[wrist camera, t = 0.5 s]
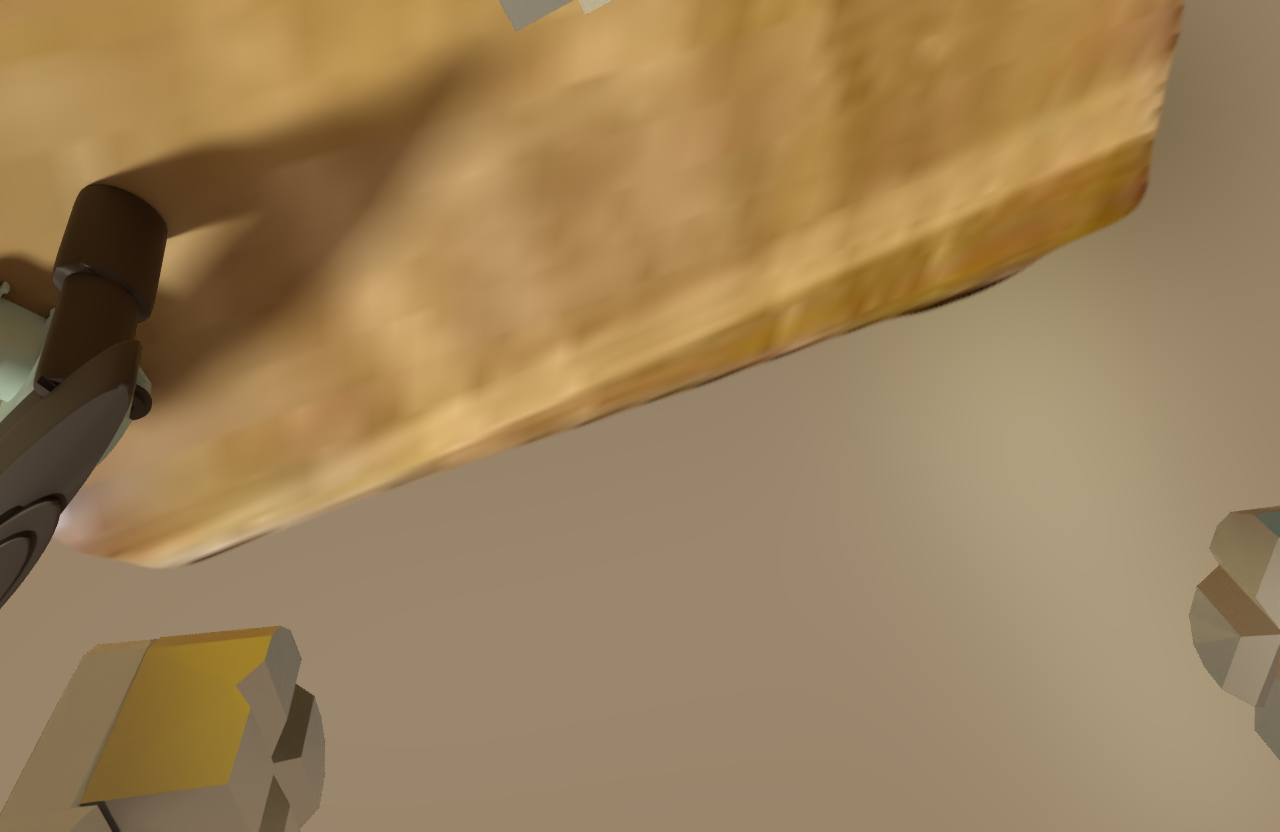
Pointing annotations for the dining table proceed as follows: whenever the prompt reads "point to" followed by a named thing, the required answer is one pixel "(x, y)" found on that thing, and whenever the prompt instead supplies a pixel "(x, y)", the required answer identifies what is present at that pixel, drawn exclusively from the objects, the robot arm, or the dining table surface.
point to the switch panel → (529, 10)
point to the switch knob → (592, 4)
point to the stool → (73, 369)
